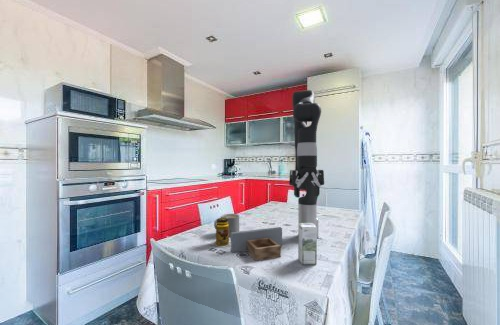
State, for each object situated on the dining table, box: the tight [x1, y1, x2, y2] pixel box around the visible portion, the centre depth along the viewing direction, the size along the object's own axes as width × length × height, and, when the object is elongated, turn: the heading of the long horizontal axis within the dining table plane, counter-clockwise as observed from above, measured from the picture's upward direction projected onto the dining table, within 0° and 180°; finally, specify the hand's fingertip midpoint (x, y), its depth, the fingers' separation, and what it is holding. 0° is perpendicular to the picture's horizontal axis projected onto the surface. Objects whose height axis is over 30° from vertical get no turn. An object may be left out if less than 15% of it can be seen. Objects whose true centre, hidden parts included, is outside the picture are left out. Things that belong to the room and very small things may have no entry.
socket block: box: [246, 238, 282, 262], centre depth 95 cm, size 11×11×4 cm
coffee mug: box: [213, 213, 240, 238], centre depth 121 cm, size 13×10×10 cm
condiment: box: [210, 217, 231, 248], centre depth 107 cm, size 7×8×12 cm
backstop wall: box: [230, 226, 283, 253], centre depth 101 cm, size 24×2×8 cm, turn 110°
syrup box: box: [297, 223, 318, 266], centre depth 87 cm, size 6×6×14 cm
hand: (307, 196), depth 87 cm, fingers open, 8 cm apart
